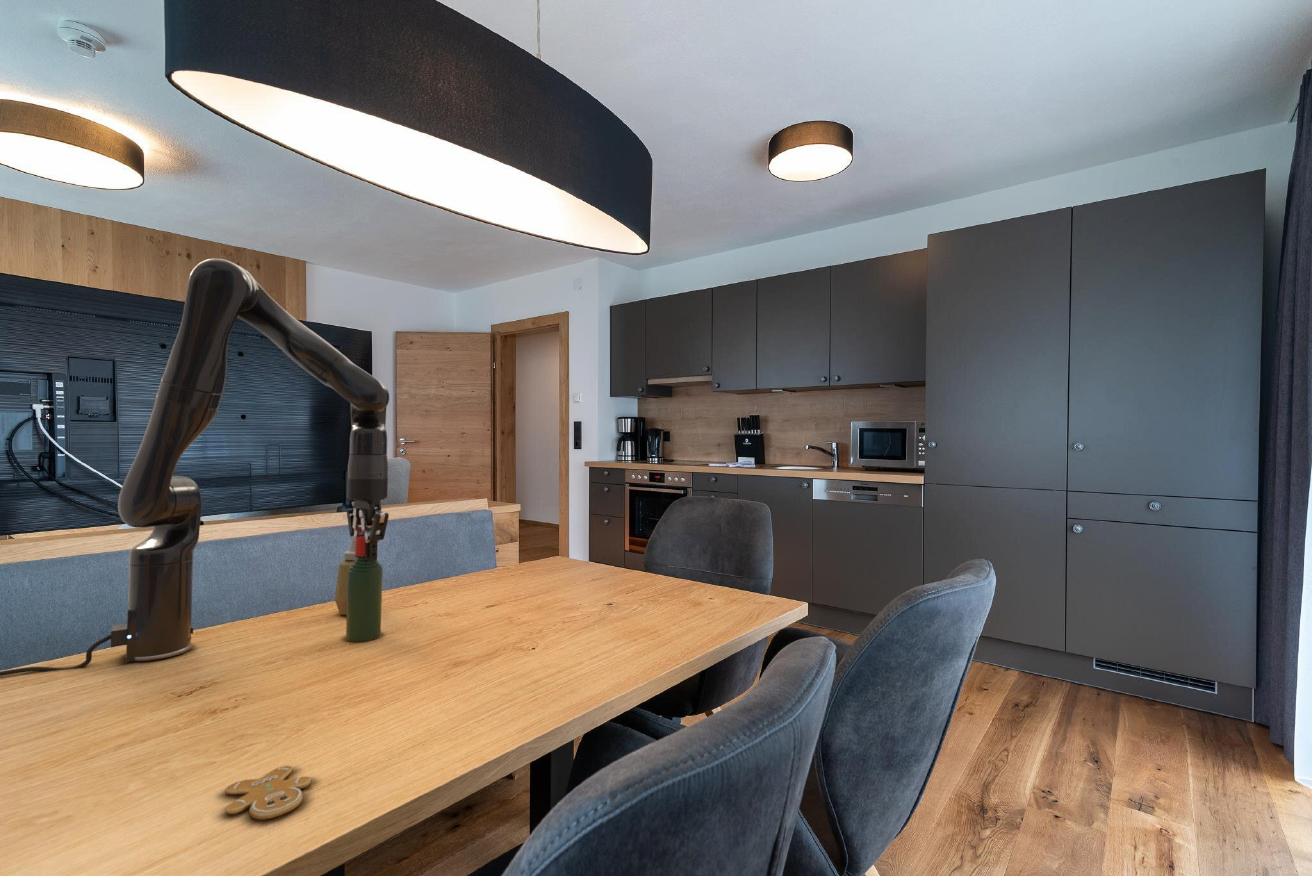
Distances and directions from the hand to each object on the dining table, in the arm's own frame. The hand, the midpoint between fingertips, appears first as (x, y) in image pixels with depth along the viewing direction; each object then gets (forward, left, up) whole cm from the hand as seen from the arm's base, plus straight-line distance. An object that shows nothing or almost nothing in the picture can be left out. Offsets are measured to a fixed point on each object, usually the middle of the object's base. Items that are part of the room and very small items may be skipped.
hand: (366, 559), depth 120 cm
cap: (0, 0, +1) cm, 1 cm away
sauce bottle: (0, 0, -16) cm, 16 cm away
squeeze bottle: (+3, +20, -16) cm, 26 cm away
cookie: (-24, -52, -16) cm, 59 cm away
